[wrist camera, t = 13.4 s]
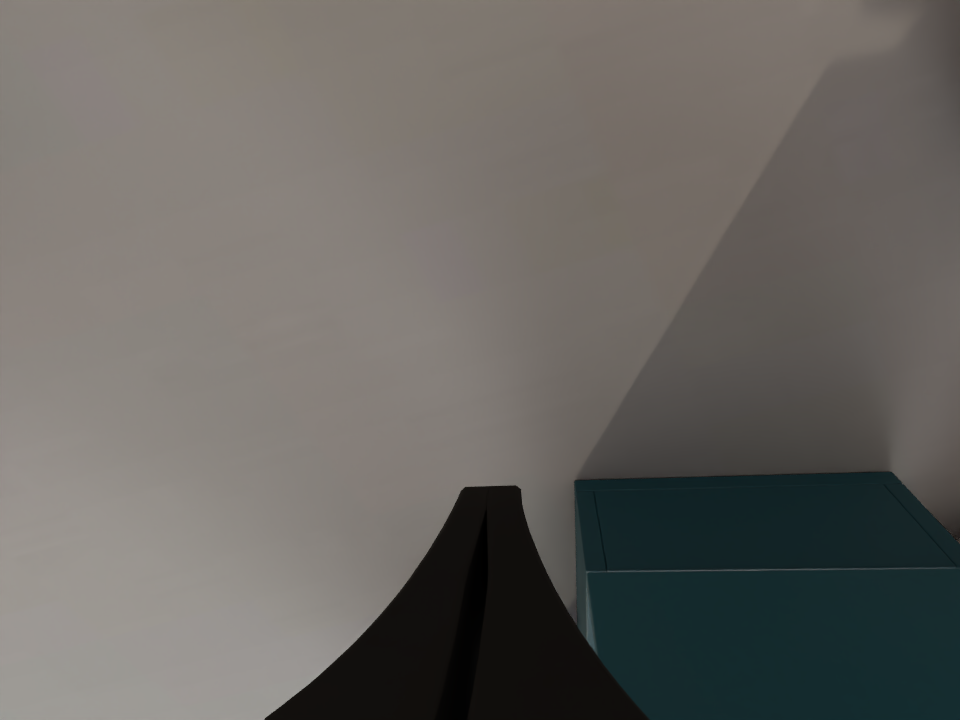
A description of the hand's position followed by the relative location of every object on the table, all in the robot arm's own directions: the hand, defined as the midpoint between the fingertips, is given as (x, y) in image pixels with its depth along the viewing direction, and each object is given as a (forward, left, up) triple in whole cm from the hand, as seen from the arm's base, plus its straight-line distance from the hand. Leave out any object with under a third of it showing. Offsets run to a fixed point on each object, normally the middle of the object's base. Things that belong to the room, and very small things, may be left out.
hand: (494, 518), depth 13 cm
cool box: (-13, -9, -10) cm, 19 cm away
